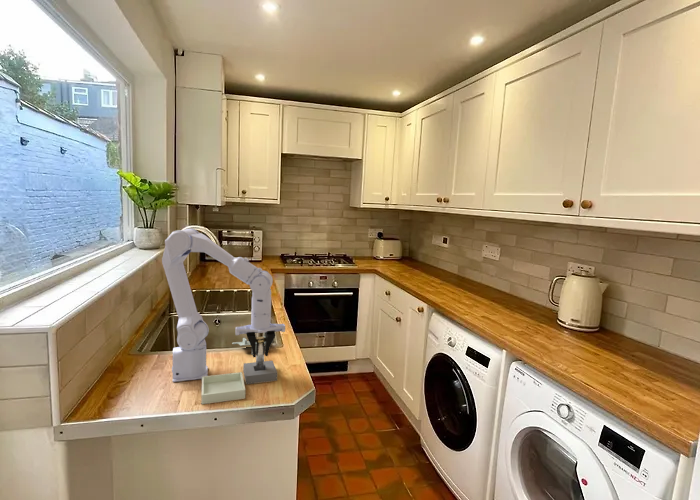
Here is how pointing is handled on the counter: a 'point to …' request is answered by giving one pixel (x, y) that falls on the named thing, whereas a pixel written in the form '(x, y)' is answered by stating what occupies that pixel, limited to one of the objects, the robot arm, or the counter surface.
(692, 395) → the counter surface
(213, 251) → the robot arm
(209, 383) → the tray
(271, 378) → the pin block
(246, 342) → the metal bracket
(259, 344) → the steel pin
